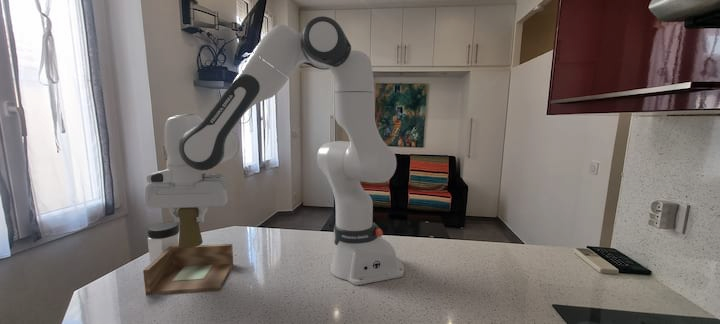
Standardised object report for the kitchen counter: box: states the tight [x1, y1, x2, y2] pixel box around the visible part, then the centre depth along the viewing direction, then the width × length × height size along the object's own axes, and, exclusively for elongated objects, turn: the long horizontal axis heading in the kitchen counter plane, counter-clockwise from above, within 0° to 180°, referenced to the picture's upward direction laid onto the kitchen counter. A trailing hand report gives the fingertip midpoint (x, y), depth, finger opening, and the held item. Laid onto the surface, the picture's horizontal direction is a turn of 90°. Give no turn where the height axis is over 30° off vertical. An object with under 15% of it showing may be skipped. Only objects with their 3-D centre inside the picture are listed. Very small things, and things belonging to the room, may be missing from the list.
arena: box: [142, 243, 234, 296], centre depth 85 cm, size 18×14×7 cm
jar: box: [147, 220, 180, 265], centre depth 94 cm, size 9×8×12 cm
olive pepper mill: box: [177, 207, 204, 248], centre depth 84 cm, size 6×6×11 cm
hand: (189, 222), depth 84 cm, fingers closed on olive pepper mill, 4 cm apart
